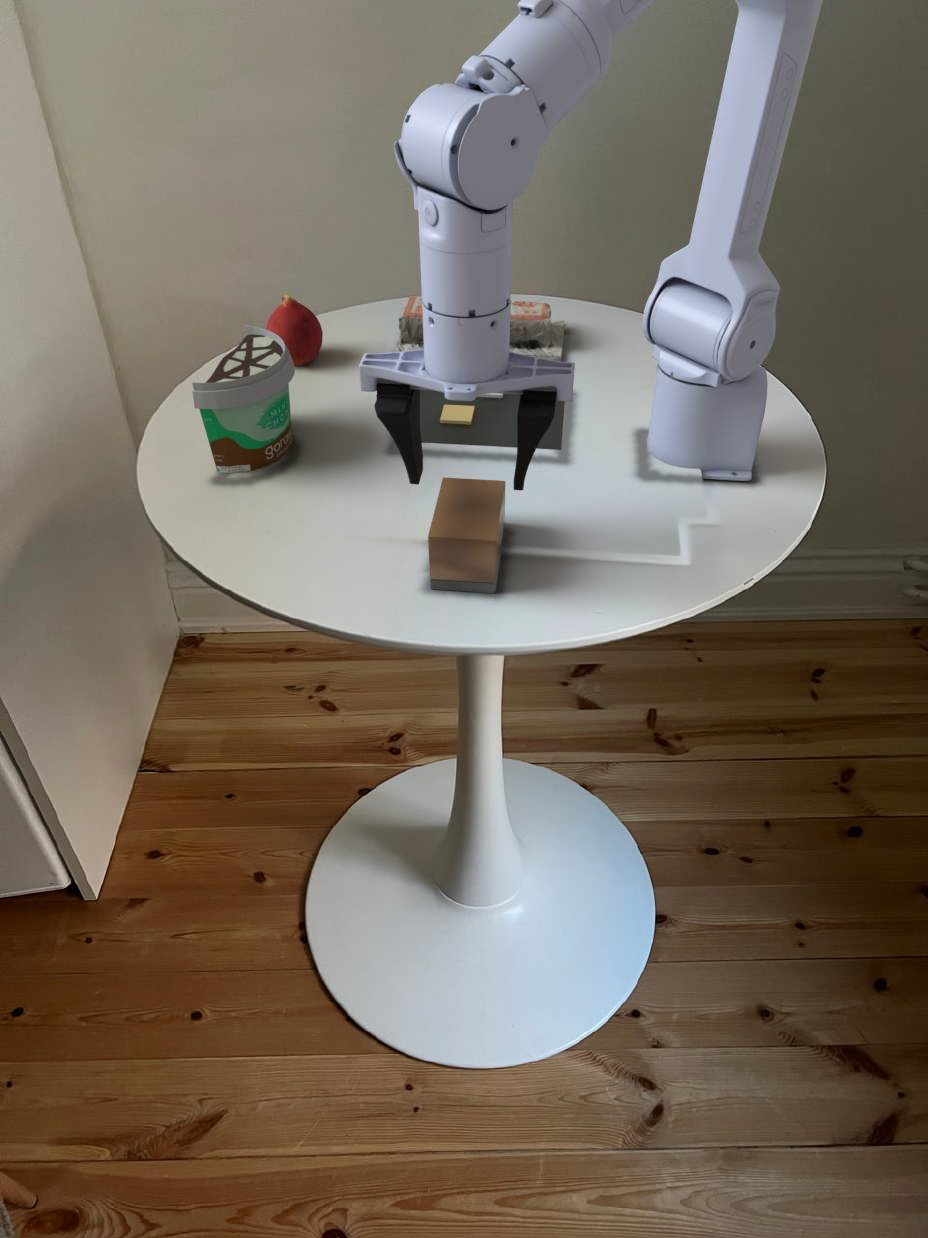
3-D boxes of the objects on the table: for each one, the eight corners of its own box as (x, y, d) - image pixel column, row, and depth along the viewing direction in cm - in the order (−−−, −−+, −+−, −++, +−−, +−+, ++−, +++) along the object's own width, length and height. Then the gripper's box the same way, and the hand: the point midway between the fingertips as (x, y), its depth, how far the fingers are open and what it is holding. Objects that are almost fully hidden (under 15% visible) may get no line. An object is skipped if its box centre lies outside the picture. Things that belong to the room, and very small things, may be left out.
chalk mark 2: (505, 384, 93) (505, 380, 93) (502, 398, 91) (502, 394, 91) (475, 382, 93) (475, 379, 93) (472, 397, 91) (472, 393, 91)
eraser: (504, 532, 76) (505, 480, 72) (495, 593, 70) (496, 540, 66) (444, 528, 76) (442, 476, 73) (430, 589, 70) (427, 536, 67)
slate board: (569, 393, 94) (569, 384, 93) (564, 461, 84) (565, 451, 83) (414, 386, 95) (413, 377, 94) (391, 452, 85) (391, 442, 85)
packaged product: (391, 320, 96) (406, 284, 103) (394, 363, 99) (408, 325, 107) (564, 326, 94) (567, 289, 102) (561, 370, 97) (564, 331, 105)
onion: (312, 351, 102) (303, 279, 96) (335, 371, 98) (326, 298, 93) (263, 364, 99) (251, 291, 94) (284, 385, 96) (273, 310, 90)
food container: (279, 497, 80) (261, 392, 73) (213, 489, 81) (189, 385, 74) (323, 426, 89) (311, 327, 82) (263, 421, 90) (246, 322, 83)
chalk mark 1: (474, 409, 89) (474, 405, 89) (471, 424, 87) (471, 421, 87) (444, 407, 90) (444, 404, 89) (440, 423, 87) (439, 419, 87)
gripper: (342, 321, 57) (360, 504, 66) (577, 330, 55) (563, 516, 64) (365, 277, 62) (379, 453, 71) (580, 285, 61) (567, 463, 70)
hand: (467, 479), depth 68 cm, fingers open, 7 cm apart
